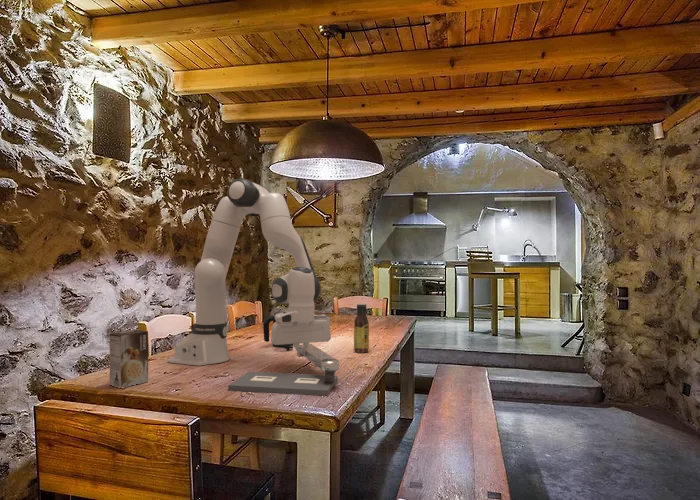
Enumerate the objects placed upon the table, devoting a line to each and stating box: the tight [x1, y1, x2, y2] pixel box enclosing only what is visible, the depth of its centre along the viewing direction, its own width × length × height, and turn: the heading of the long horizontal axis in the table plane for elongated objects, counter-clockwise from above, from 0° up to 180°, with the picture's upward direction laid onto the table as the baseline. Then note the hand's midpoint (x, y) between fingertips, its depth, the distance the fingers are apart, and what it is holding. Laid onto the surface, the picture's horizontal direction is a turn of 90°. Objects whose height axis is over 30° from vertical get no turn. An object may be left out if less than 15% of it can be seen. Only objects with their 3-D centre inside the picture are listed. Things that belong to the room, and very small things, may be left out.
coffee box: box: [109, 329, 149, 388], centre depth 136 cm, size 9×6×16 cm
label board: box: [227, 371, 339, 397], centre depth 136 cm, size 30×16×5 cm, turn 81°
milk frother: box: [262, 311, 294, 351], centre depth 193 cm, size 14×16×15 cm
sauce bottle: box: [353, 303, 370, 354], centre depth 185 cm, size 7×6×20 cm
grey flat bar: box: [298, 343, 340, 372], centre depth 145 cm, size 30×6×2 cm, turn 22°
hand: (301, 356), depth 149 cm, fingers closed
